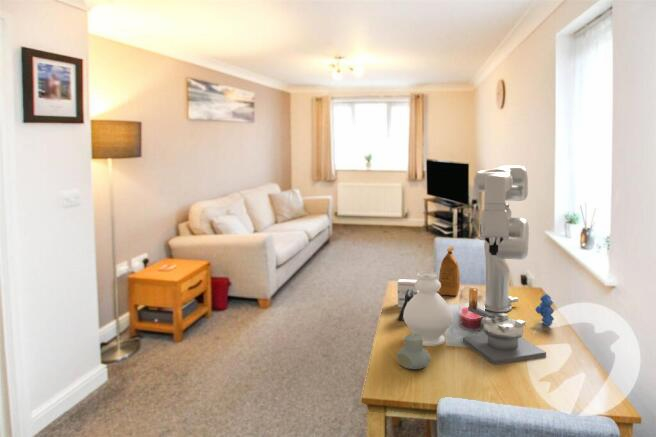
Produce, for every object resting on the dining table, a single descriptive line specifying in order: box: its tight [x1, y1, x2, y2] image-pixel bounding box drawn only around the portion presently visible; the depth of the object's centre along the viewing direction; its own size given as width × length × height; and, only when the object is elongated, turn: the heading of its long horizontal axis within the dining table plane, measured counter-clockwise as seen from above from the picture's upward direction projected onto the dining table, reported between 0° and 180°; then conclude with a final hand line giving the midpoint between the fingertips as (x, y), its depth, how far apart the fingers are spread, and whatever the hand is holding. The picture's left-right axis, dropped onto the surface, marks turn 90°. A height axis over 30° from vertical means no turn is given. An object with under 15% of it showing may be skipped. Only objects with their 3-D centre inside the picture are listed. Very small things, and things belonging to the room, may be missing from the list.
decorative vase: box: [403, 271, 453, 347], centre depth 183 cm, size 18×18×25 cm
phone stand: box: [397, 289, 414, 323], centre depth 205 cm, size 9×6×12 cm, turn 74°
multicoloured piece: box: [467, 287, 526, 340], centre depth 178 cm, size 23×13×12 cm, turn 27°
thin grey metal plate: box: [462, 333, 547, 366], centre depth 175 cm, size 20×20×6 cm
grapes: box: [534, 293, 555, 327], centre depth 195 cm, size 12×7×12 cm, turn 170°
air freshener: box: [396, 333, 431, 370], centre depth 164 cm, size 11×8×10 cm
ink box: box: [397, 278, 419, 308], centre depth 220 cm, size 9×5×12 cm, turn 75°
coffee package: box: [438, 245, 461, 296], centre depth 236 cm, size 10×12×22 cm
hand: (493, 254), depth 190 cm, fingers closed
